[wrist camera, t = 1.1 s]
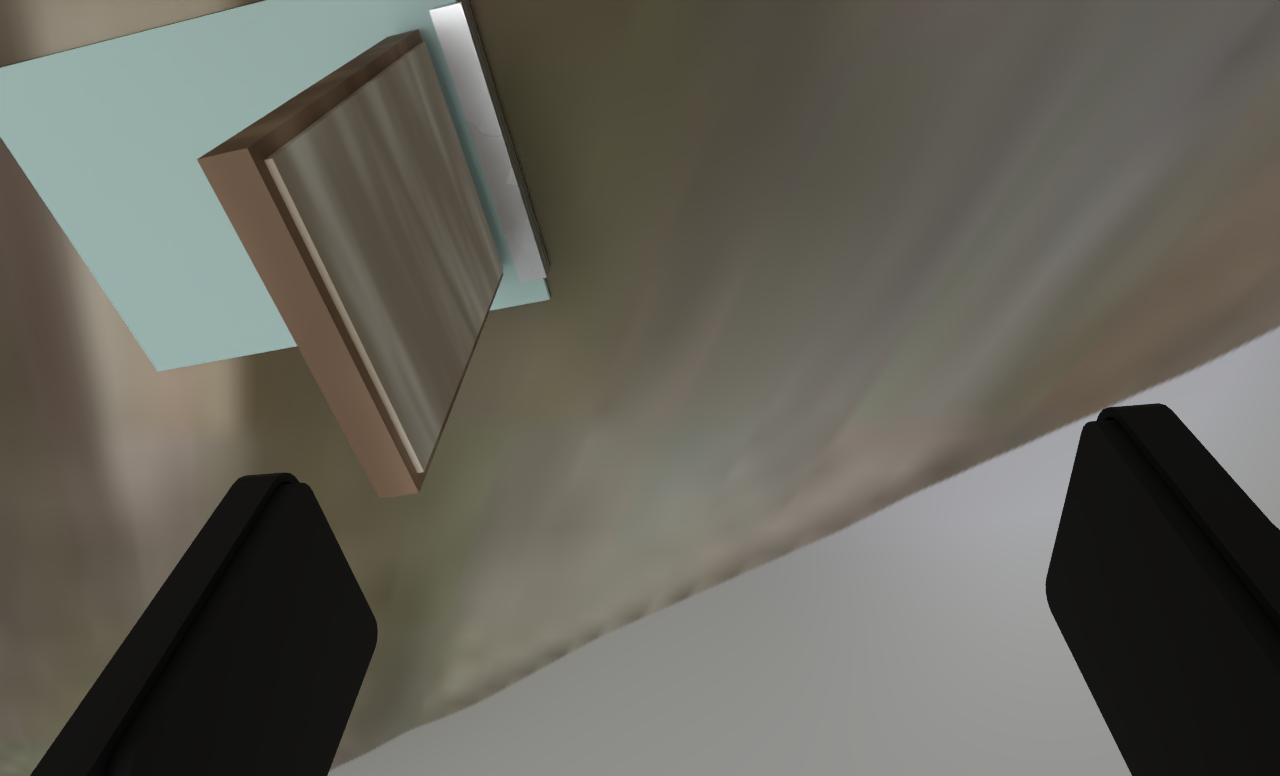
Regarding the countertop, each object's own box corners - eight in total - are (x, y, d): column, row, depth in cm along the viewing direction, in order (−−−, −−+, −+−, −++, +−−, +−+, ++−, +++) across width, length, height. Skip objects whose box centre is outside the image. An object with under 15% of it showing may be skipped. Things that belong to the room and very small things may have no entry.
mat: (443, -45, 28) (441, -44, 28) (550, 296, 36) (549, 299, 35) (-34, 76, 31) (-39, 77, 30) (160, 368, 38) (157, 371, 38)
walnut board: (423, 28, 28) (255, 146, 17) (507, 273, 34) (425, 492, 22) (387, 36, 28) (196, 159, 17) (477, 279, 34) (379, 498, 22)
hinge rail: (467, -3, 29) (460, 2, 28) (550, 265, 35) (546, 277, 34) (437, 5, 29) (429, 10, 28) (524, 270, 35) (520, 282, 34)
